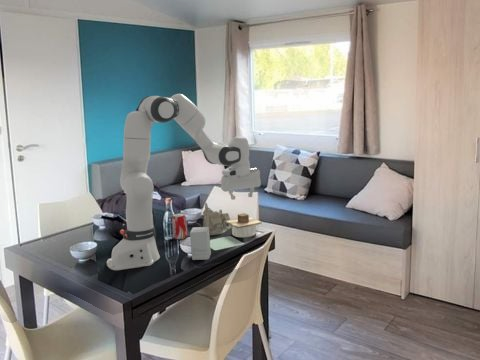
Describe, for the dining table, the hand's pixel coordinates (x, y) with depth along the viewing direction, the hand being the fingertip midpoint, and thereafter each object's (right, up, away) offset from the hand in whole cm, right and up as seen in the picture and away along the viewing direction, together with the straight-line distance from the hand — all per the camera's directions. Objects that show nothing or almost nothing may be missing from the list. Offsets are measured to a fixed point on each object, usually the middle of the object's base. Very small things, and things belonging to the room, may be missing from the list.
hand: (241, 198), depth 228 cm
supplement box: (-17, -25, -25) cm, 39 cm away
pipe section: (+1, -18, +4) cm, 19 cm away
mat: (-9, -21, -8) cm, 24 cm away
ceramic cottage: (-12, -17, +13) cm, 25 cm away
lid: (+1, -12, +2) cm, 13 cm away
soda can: (-30, -20, +3) cm, 36 cm away
